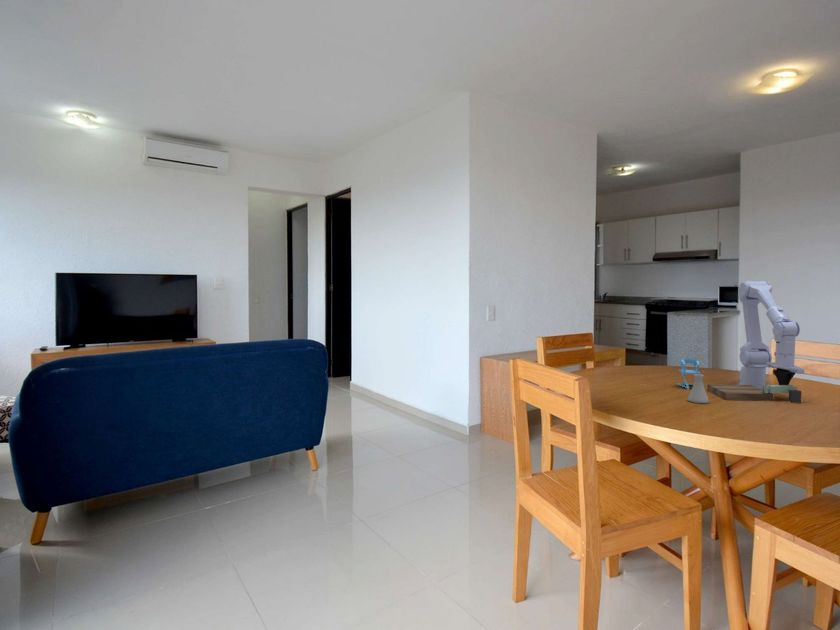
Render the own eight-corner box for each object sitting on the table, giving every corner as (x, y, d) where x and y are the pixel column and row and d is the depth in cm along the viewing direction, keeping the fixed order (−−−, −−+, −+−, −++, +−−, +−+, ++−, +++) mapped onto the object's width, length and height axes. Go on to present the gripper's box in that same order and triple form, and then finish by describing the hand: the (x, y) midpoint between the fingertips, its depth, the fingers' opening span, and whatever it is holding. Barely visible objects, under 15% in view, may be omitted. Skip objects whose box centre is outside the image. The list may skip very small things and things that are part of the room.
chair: (681, 389, 198) (681, 360, 197) (676, 385, 206) (677, 357, 205) (702, 390, 195) (703, 361, 194) (697, 385, 203) (697, 357, 202)
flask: (712, 404, 173) (713, 376, 173) (691, 403, 175) (691, 376, 174) (705, 399, 180) (705, 373, 180) (684, 398, 182) (684, 372, 181)
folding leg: (765, 393, 177) (765, 386, 177) (761, 391, 179) (761, 385, 179) (796, 393, 176) (796, 386, 176) (791, 391, 179) (791, 384, 179)
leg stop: (788, 401, 176) (788, 389, 176) (797, 401, 175) (797, 390, 175) (791, 402, 174) (792, 391, 174) (801, 402, 173) (801, 391, 173)
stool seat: (707, 390, 195) (707, 384, 195) (750, 391, 192) (750, 384, 192) (726, 399, 179) (726, 393, 179) (773, 400, 177) (773, 394, 176)
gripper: (759, 351, 186) (758, 385, 187) (792, 356, 172) (790, 394, 173) (775, 350, 187) (774, 384, 188) (810, 356, 172) (808, 393, 173)
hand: (783, 389), depth 180 cm, fingers closed
